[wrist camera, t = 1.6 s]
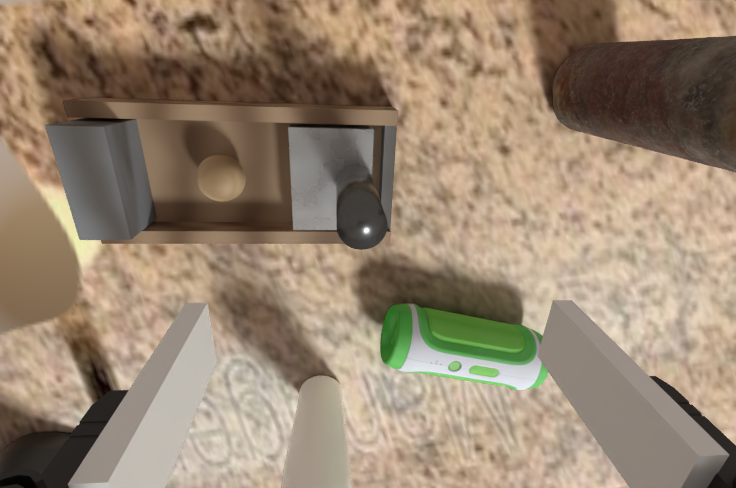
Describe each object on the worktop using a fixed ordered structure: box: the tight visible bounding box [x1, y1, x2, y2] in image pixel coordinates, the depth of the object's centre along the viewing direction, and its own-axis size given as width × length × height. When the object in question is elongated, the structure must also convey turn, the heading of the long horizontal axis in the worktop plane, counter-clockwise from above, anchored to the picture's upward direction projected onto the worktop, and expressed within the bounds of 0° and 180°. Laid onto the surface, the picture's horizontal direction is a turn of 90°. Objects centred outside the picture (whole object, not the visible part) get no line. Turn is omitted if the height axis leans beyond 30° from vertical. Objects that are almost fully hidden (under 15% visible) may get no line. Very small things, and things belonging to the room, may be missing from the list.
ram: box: [288, 124, 388, 250], centre depth 29 cm, size 7×9×13 cm
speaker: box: [380, 304, 548, 390], centre depth 43 cm, size 18×7×8 cm, turn 74°
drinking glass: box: [281, 375, 352, 488], centre depth 41 cm, size 7×7×15 cm
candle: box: [553, 36, 736, 172], centre depth 27 cm, size 8×7×20 cm
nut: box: [196, 155, 246, 202], centre depth 33 cm, size 4×4×4 cm
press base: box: [45, 97, 398, 244], centre depth 33 cm, size 26×12×6 cm, turn 88°
